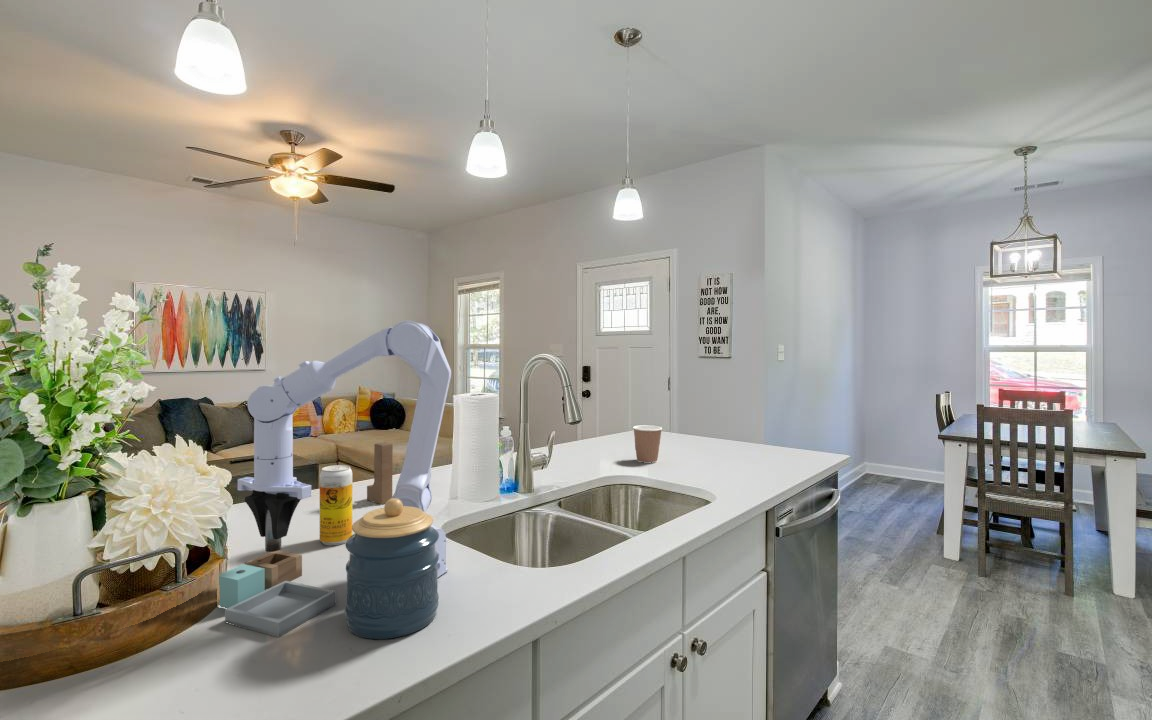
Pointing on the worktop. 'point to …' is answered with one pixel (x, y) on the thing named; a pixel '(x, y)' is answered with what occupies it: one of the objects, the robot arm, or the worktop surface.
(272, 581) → the brown wooden square frame
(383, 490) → the wooden block
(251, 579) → the teal block
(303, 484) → the robot arm
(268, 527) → the cylinder
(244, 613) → the tray
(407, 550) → the canister
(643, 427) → the coffee cup
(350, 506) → the beer can
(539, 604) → the worktop surface
